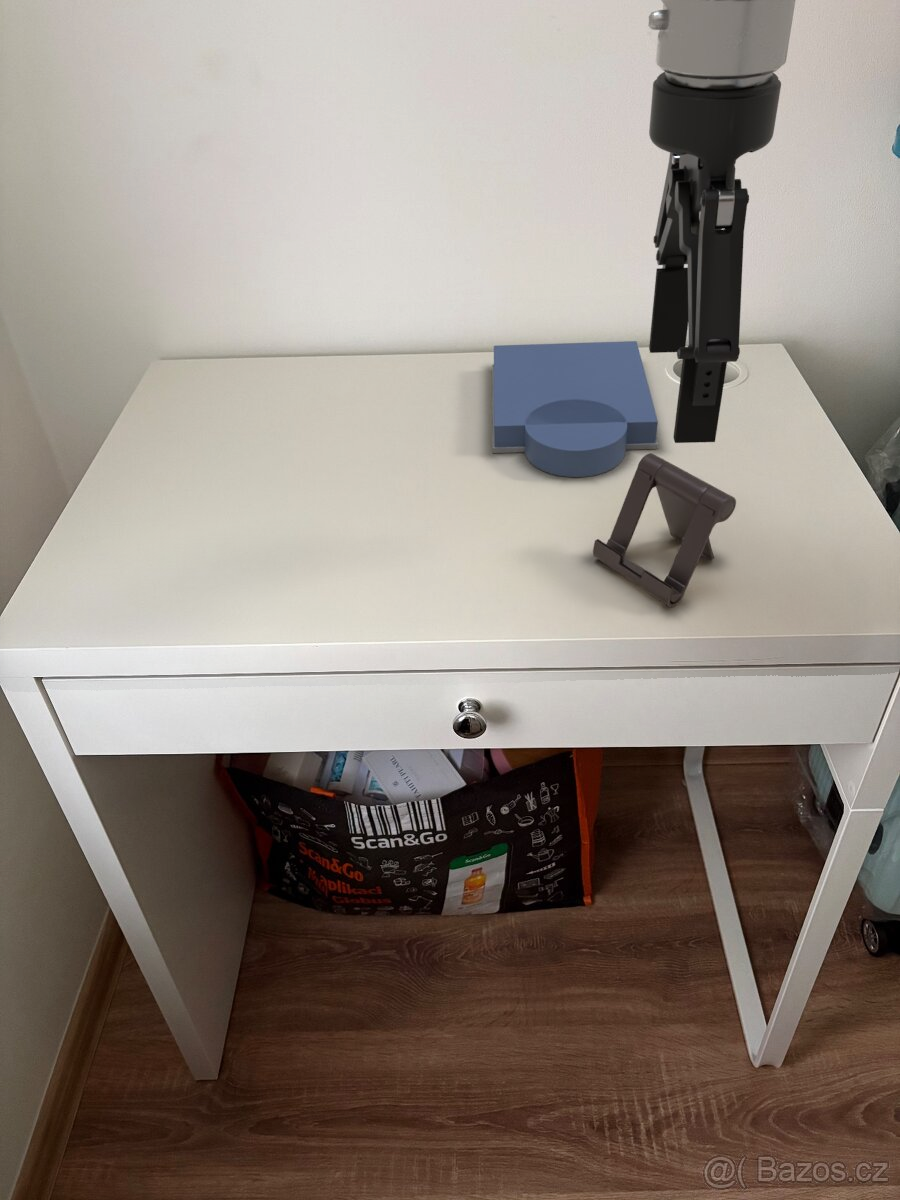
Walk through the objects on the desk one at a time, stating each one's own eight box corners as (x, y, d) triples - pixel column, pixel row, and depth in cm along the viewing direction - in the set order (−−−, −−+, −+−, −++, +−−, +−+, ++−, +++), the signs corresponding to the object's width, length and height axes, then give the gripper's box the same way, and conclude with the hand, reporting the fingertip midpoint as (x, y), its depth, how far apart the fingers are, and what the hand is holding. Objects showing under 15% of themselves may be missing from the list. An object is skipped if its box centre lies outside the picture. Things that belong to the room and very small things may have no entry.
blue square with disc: (664, 475, 92) (667, 448, 90) (492, 479, 93) (492, 452, 91) (636, 364, 110) (638, 340, 108) (492, 369, 111) (491, 344, 109)
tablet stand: (590, 560, 83) (595, 477, 77) (655, 525, 86) (664, 443, 81) (666, 611, 77) (677, 526, 72) (732, 571, 81) (747, 487, 75)
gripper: (631, 33, 67) (612, 321, 81) (686, 133, 48) (649, 486, 62) (740, 28, 67) (702, 318, 81) (838, 127, 48) (767, 484, 62)
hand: (679, 392), depth 72 cm, fingers open, 13 cm apart
